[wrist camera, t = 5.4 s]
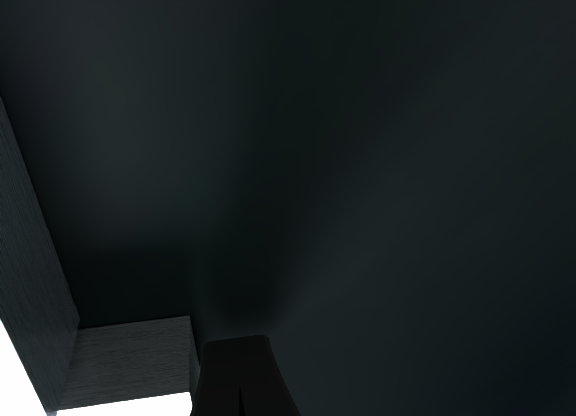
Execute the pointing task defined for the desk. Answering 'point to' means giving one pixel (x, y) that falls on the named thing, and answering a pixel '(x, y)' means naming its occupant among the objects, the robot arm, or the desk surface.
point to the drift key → (132, 370)
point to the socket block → (30, 295)
